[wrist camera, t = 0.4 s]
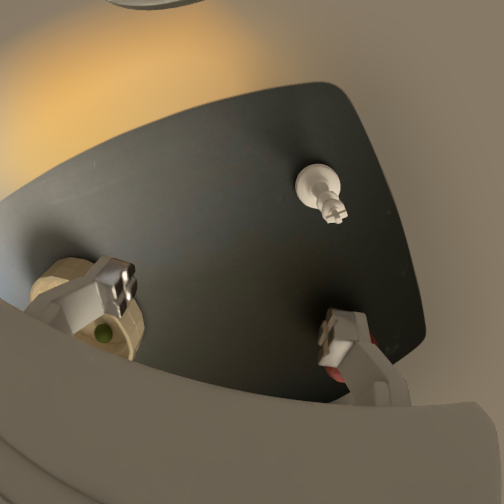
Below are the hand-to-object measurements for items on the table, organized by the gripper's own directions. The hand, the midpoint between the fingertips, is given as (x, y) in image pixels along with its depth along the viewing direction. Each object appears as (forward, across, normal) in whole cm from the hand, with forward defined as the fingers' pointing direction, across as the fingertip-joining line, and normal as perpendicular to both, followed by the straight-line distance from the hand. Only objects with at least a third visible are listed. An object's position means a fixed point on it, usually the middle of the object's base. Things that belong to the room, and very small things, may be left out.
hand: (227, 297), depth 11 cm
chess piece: (+21, -6, +2) cm, 22 cm away
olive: (+15, +21, +29) cm, 39 cm away
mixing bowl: (+16, +24, +26) cm, 39 cm away
